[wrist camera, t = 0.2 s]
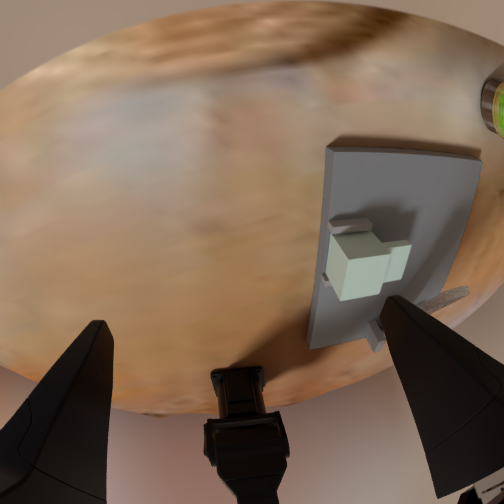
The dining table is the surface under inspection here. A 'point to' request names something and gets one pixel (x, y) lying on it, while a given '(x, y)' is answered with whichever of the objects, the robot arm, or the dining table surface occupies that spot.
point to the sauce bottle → (493, 106)
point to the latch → (364, 263)
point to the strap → (442, 300)
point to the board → (390, 229)
